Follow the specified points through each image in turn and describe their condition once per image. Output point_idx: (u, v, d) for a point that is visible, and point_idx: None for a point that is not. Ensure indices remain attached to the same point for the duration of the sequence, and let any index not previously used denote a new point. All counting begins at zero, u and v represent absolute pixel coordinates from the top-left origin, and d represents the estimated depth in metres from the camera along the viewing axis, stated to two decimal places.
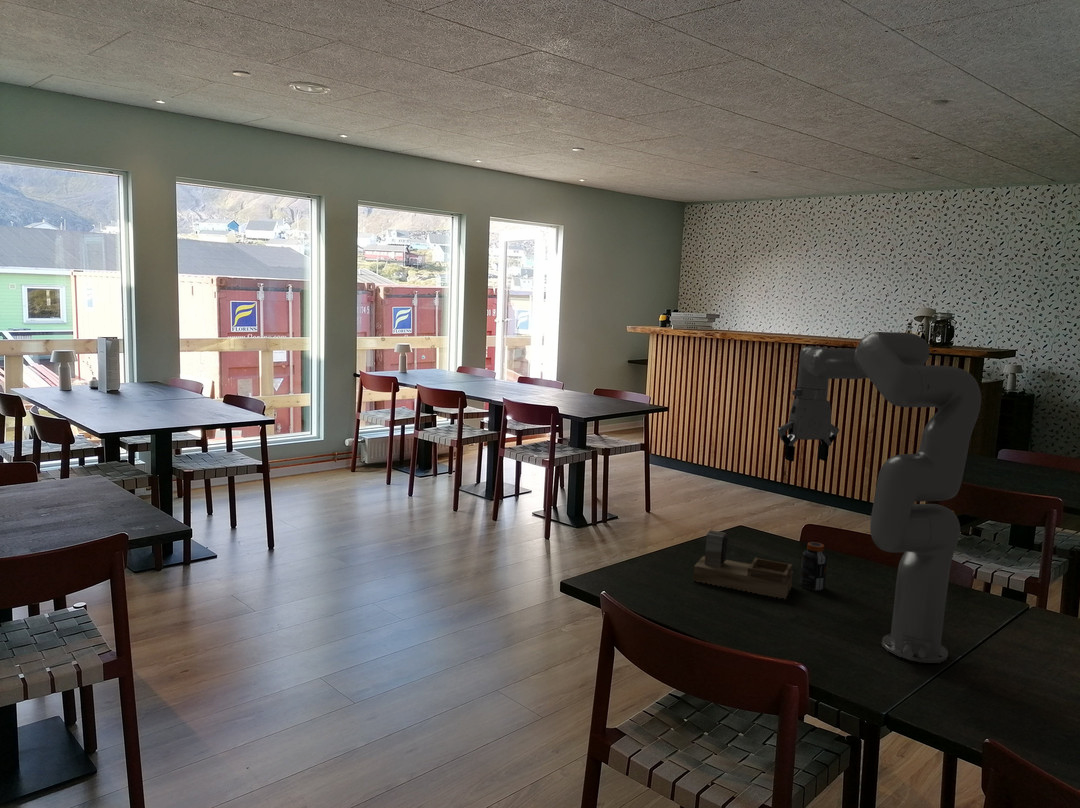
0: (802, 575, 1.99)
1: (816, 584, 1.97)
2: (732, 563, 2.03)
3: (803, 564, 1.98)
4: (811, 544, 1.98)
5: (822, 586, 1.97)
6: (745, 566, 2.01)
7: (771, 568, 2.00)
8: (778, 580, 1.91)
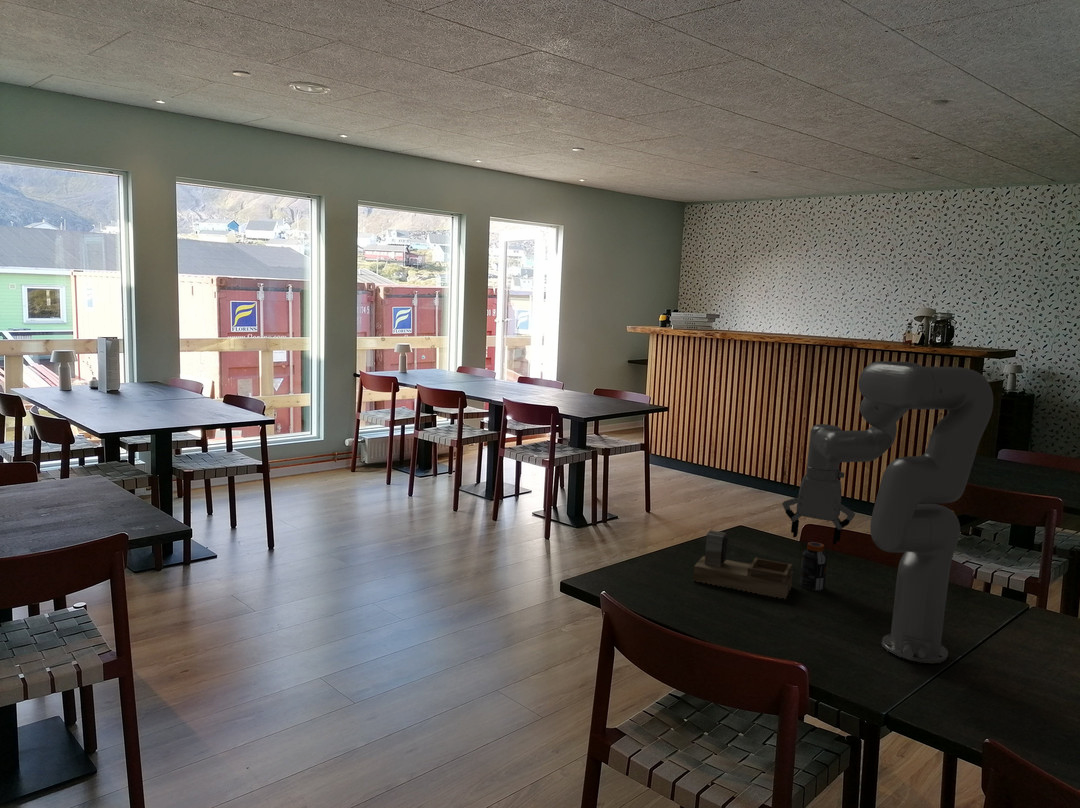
0: (802, 575, 1.99)
1: (816, 584, 1.97)
2: (732, 563, 2.03)
3: (803, 564, 1.98)
4: (811, 544, 1.98)
5: (822, 586, 1.97)
6: (745, 566, 2.01)
7: (771, 568, 2.00)
8: (778, 580, 1.91)
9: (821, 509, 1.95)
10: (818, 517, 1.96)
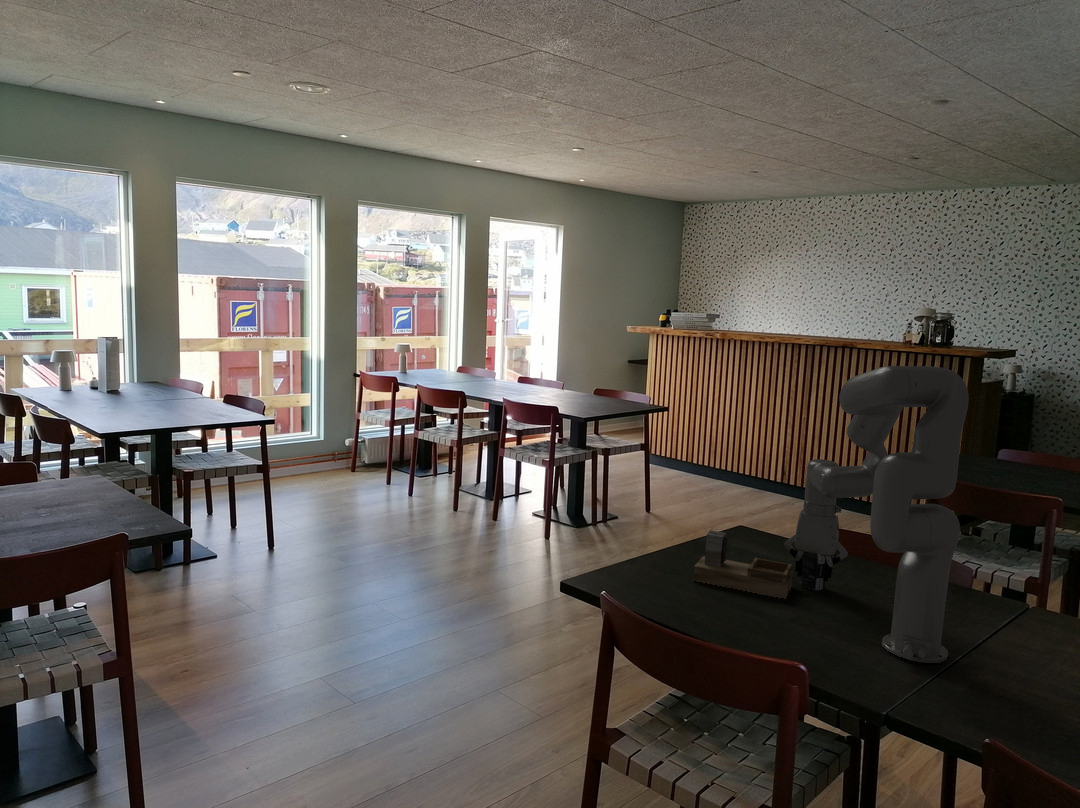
0: (802, 575, 1.99)
1: (816, 584, 1.97)
2: (732, 563, 2.03)
3: (803, 564, 1.98)
4: None
5: (822, 586, 1.97)
6: (745, 566, 2.01)
7: (771, 568, 2.00)
8: (778, 580, 1.91)
9: (818, 544, 1.96)
10: (816, 552, 1.96)
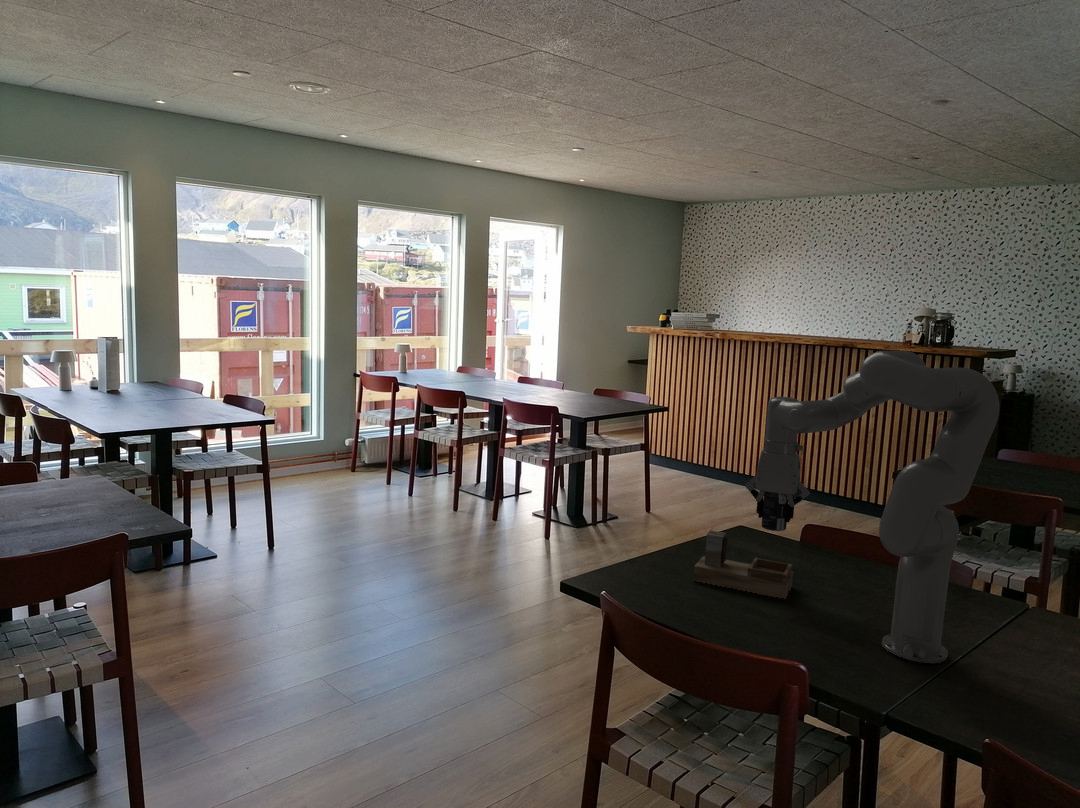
0: (763, 516, 1.94)
1: (777, 525, 1.91)
2: (732, 563, 2.03)
3: (764, 505, 1.93)
4: None
5: (783, 527, 1.92)
6: (745, 566, 2.01)
7: (771, 568, 2.00)
8: (778, 580, 1.91)
9: (779, 483, 1.91)
10: (777, 492, 1.91)
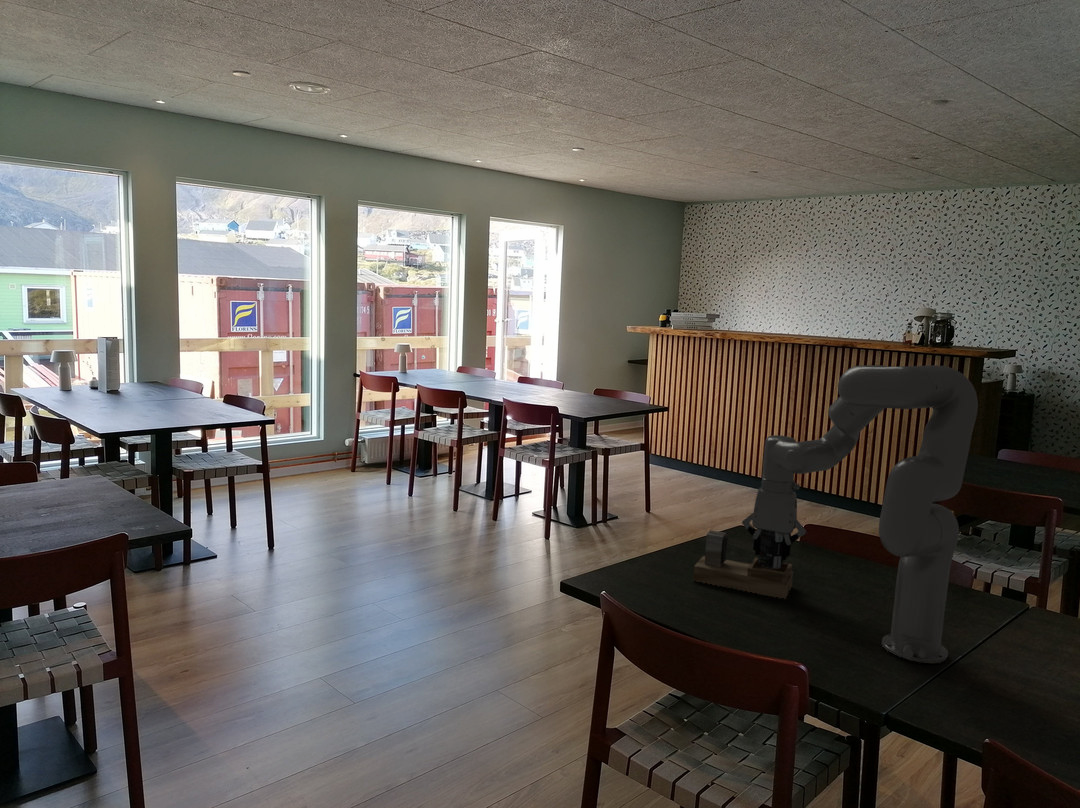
0: (760, 553, 1.95)
1: (774, 563, 1.93)
2: (732, 563, 2.03)
3: (761, 542, 1.95)
4: None
5: (780, 564, 1.93)
6: (745, 566, 2.01)
7: None
8: (778, 580, 1.91)
9: (776, 522, 1.92)
10: (774, 530, 1.93)
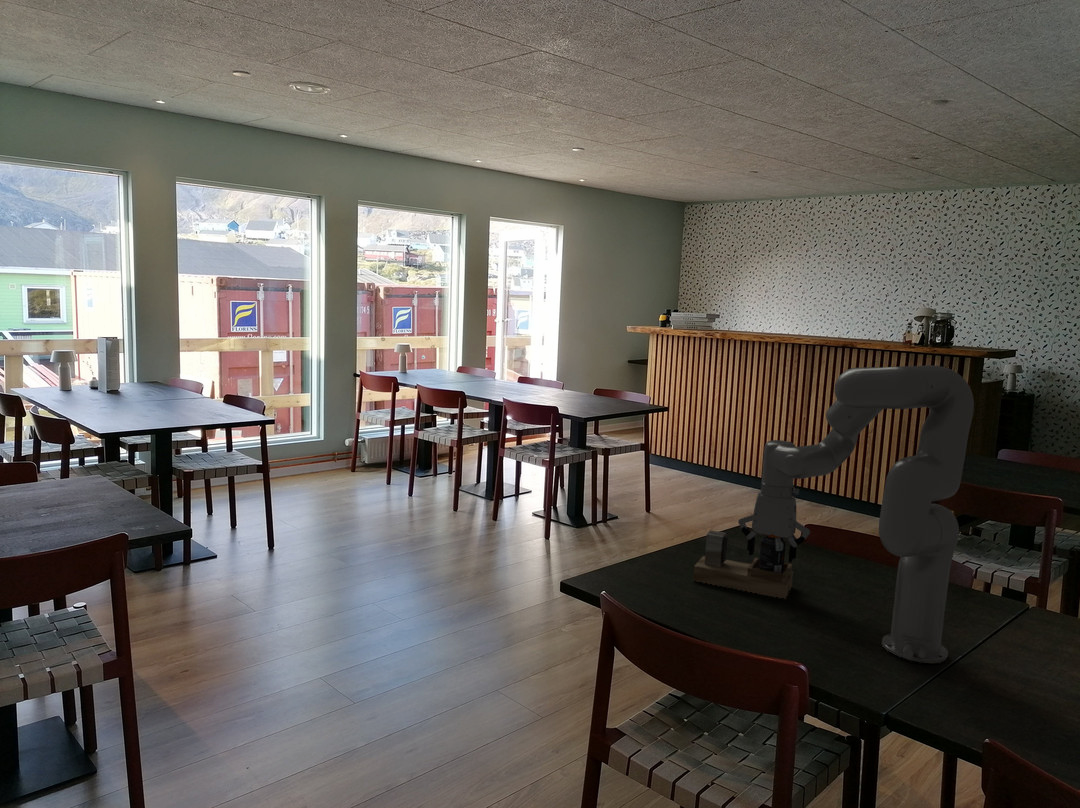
0: (760, 562, 1.95)
1: None
2: (732, 563, 2.03)
3: (761, 551, 1.95)
4: None
5: None
6: (745, 566, 2.01)
7: None
8: (778, 580, 1.91)
9: (775, 527, 1.92)
10: None
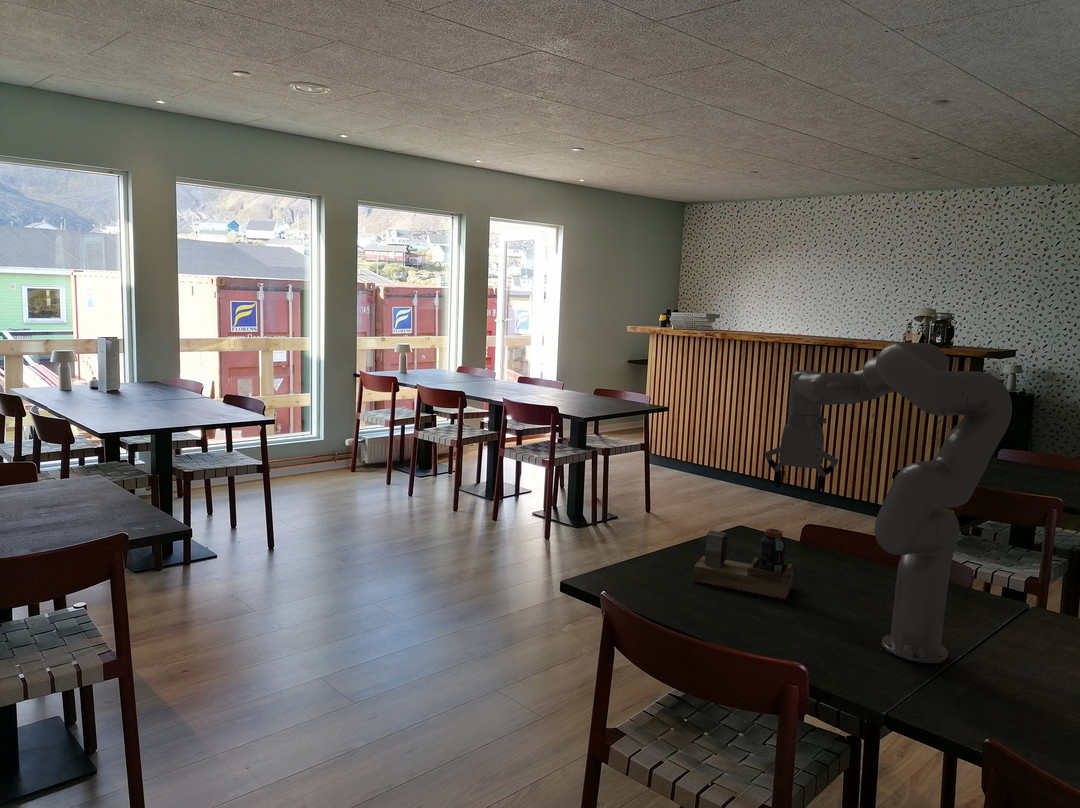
0: (760, 562, 1.95)
1: (774, 571, 1.93)
2: (732, 563, 2.03)
3: (761, 551, 1.95)
4: (769, 530, 1.94)
5: None
6: (745, 566, 2.01)
7: None
8: (778, 580, 1.91)
9: (803, 457, 1.91)
10: (801, 465, 1.91)
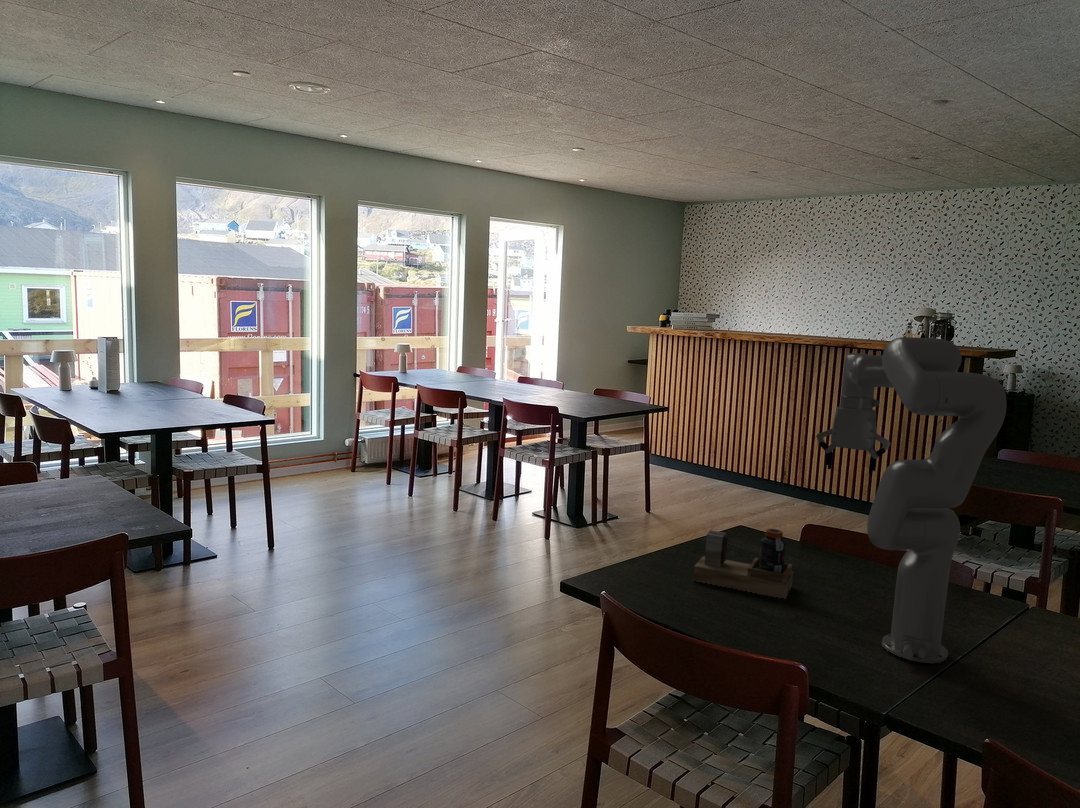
0: (760, 562, 1.95)
1: None
2: (732, 563, 2.03)
3: (761, 551, 1.95)
4: (769, 530, 1.94)
5: None
6: (745, 566, 2.01)
7: None
8: (778, 580, 1.91)
9: (856, 439, 1.93)
10: (853, 447, 1.94)
